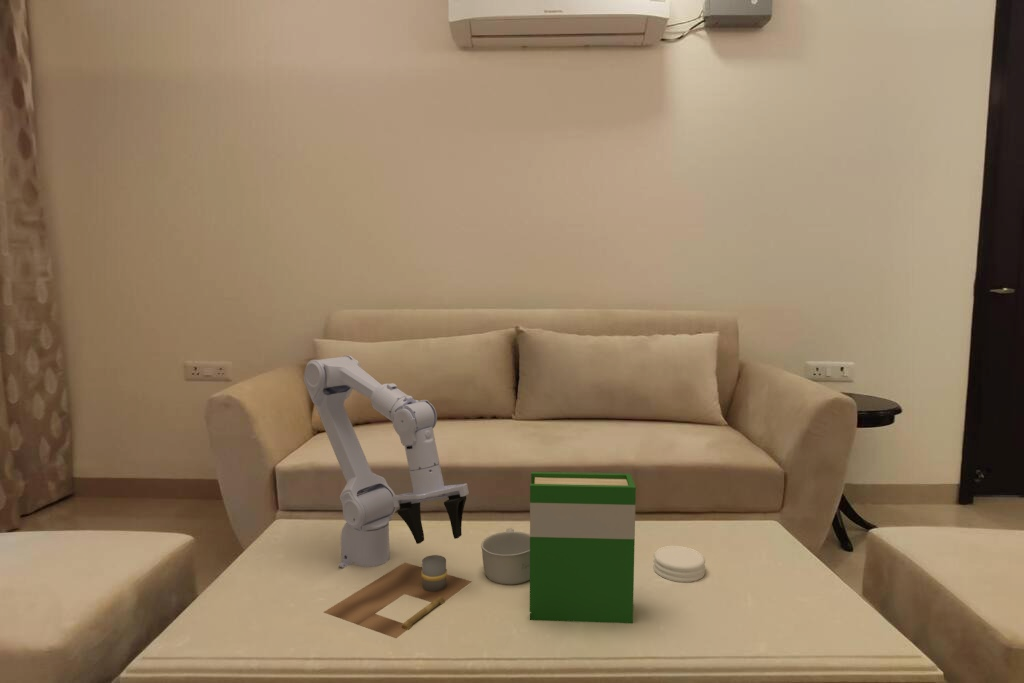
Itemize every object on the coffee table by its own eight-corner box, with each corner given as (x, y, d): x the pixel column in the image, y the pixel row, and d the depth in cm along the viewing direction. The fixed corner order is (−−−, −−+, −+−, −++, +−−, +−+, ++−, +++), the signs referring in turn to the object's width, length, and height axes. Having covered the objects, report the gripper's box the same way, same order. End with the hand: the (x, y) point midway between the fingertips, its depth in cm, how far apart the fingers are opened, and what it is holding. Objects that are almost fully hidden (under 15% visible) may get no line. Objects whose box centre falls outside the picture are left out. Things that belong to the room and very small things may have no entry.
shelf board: (323, 620, 113) (323, 606, 112) (405, 569, 132) (404, 557, 131) (396, 647, 105) (396, 632, 105) (472, 588, 124) (471, 576, 124)
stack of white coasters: (693, 588, 124) (693, 571, 124) (645, 573, 130) (645, 557, 130) (712, 569, 132) (712, 553, 132) (666, 556, 138) (666, 540, 138)
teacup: (532, 596, 121) (532, 555, 120) (475, 591, 123) (474, 550, 122) (543, 563, 135) (543, 526, 134) (492, 559, 137) (492, 522, 136)
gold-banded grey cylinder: (416, 588, 121) (416, 562, 120) (431, 577, 125) (431, 552, 124) (437, 594, 119) (436, 568, 118) (451, 583, 123) (451, 558, 122)
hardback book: (529, 620, 113) (530, 485, 110) (530, 598, 120) (531, 471, 118) (632, 623, 112) (635, 487, 109) (627, 601, 119) (630, 473, 117)
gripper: (379, 477, 120) (394, 551, 119) (452, 464, 115) (467, 541, 115) (397, 469, 126) (411, 539, 126) (466, 457, 122) (480, 529, 122)
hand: (439, 539), depth 121 cm, fingers open, 7 cm apart
